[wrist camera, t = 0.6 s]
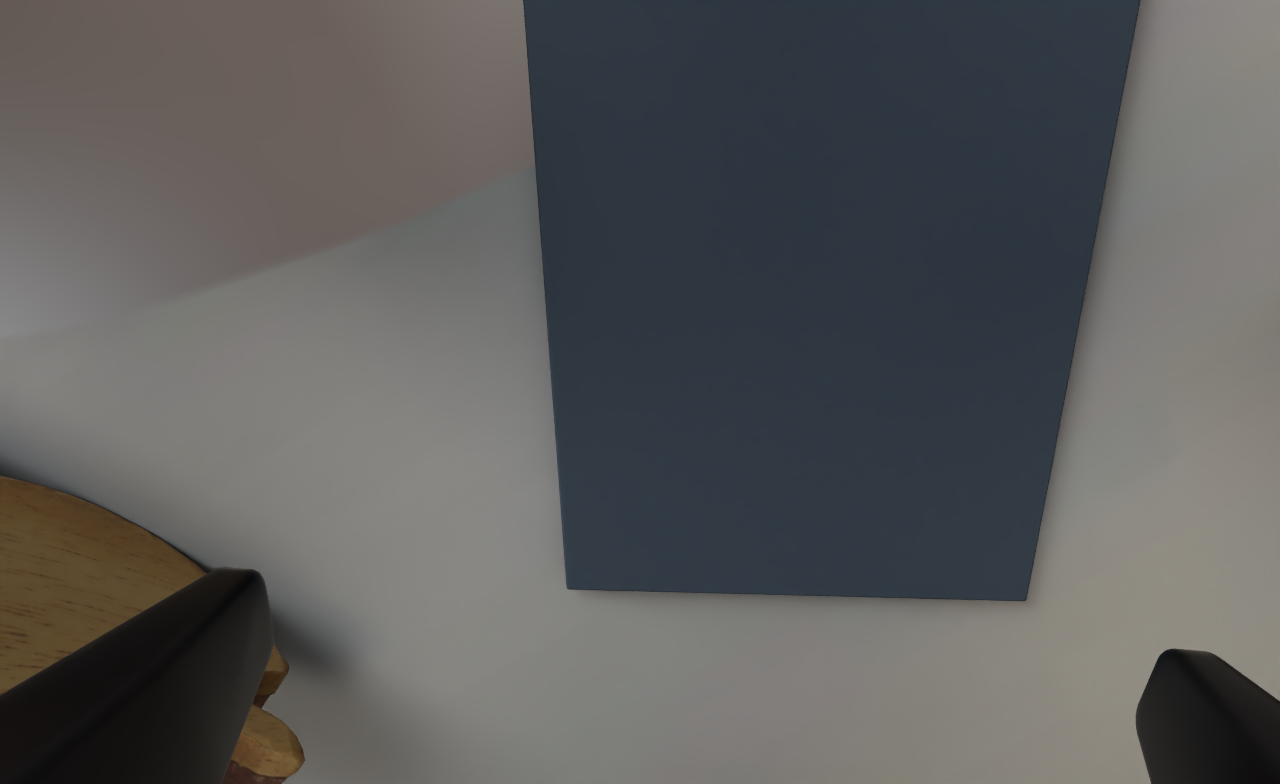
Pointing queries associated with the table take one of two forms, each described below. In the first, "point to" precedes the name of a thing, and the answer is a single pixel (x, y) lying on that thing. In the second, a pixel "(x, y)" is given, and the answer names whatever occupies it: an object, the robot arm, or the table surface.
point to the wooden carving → (106, 603)
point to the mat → (816, 283)
